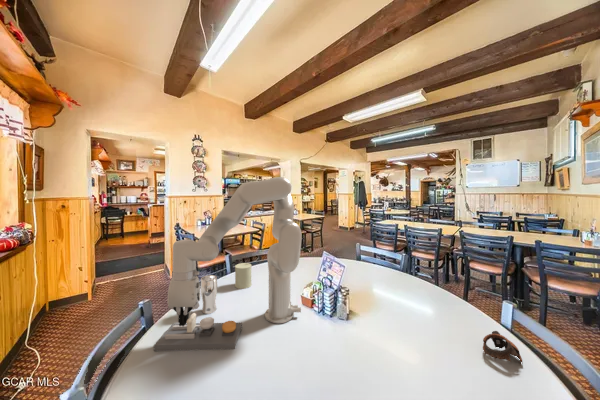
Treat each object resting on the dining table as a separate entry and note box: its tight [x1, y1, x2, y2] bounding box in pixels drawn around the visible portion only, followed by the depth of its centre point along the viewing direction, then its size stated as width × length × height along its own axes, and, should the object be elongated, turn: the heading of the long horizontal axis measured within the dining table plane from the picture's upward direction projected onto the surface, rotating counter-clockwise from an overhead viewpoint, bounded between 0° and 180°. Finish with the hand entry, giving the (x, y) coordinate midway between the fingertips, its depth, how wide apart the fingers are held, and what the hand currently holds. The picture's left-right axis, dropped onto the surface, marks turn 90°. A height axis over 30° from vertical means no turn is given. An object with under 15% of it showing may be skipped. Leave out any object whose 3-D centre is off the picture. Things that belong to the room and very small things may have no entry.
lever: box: [186, 312, 198, 334], centre depth 81 cm, size 3×5×6 cm, turn 3°
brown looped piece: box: [482, 330, 523, 363], centre depth 74 cm, size 12×10×8 cm
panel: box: [153, 322, 243, 352], centre depth 82 cm, size 27×12×3 cm, turn 93°
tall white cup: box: [200, 274, 218, 315], centre depth 100 cm, size 7×7×15 cm
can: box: [234, 262, 253, 290], centre depth 127 cm, size 9×9×12 cm
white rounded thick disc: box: [199, 316, 215, 330], centre depth 82 cm, size 5×5×3 cm
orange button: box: [222, 320, 237, 333], centre depth 82 cm, size 5×5×3 cm
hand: (183, 323), depth 81 cm, fingers closed
